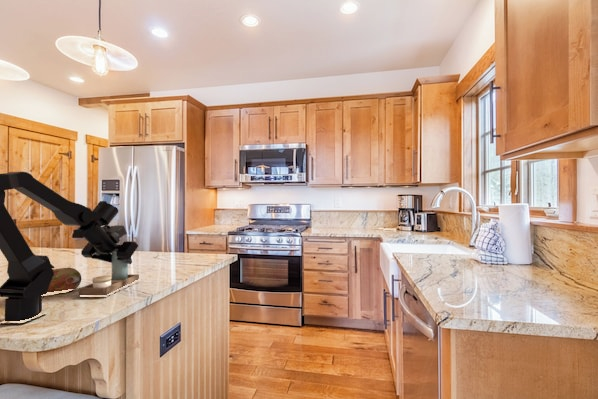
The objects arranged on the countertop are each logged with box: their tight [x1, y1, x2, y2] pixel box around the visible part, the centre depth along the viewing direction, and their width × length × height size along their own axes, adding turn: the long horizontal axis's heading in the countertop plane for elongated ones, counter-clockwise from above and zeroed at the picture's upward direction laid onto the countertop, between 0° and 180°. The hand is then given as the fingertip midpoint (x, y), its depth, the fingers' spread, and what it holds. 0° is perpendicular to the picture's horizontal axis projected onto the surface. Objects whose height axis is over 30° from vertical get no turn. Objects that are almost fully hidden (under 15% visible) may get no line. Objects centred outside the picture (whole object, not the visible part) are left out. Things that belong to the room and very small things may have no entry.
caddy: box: [78, 273, 140, 296], centre depth 97 cm, size 18×9×3 cm, turn 179°
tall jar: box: [111, 251, 129, 280], centre depth 101 cm, size 5×5×14 cm
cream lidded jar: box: [92, 275, 112, 288], centre depth 93 cm, size 5×5×5 cm
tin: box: [24, 267, 82, 292], centre depth 92 cm, size 15×3×8 cm, turn 129°
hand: (123, 262), depth 103 cm, fingers open, 6 cm apart
